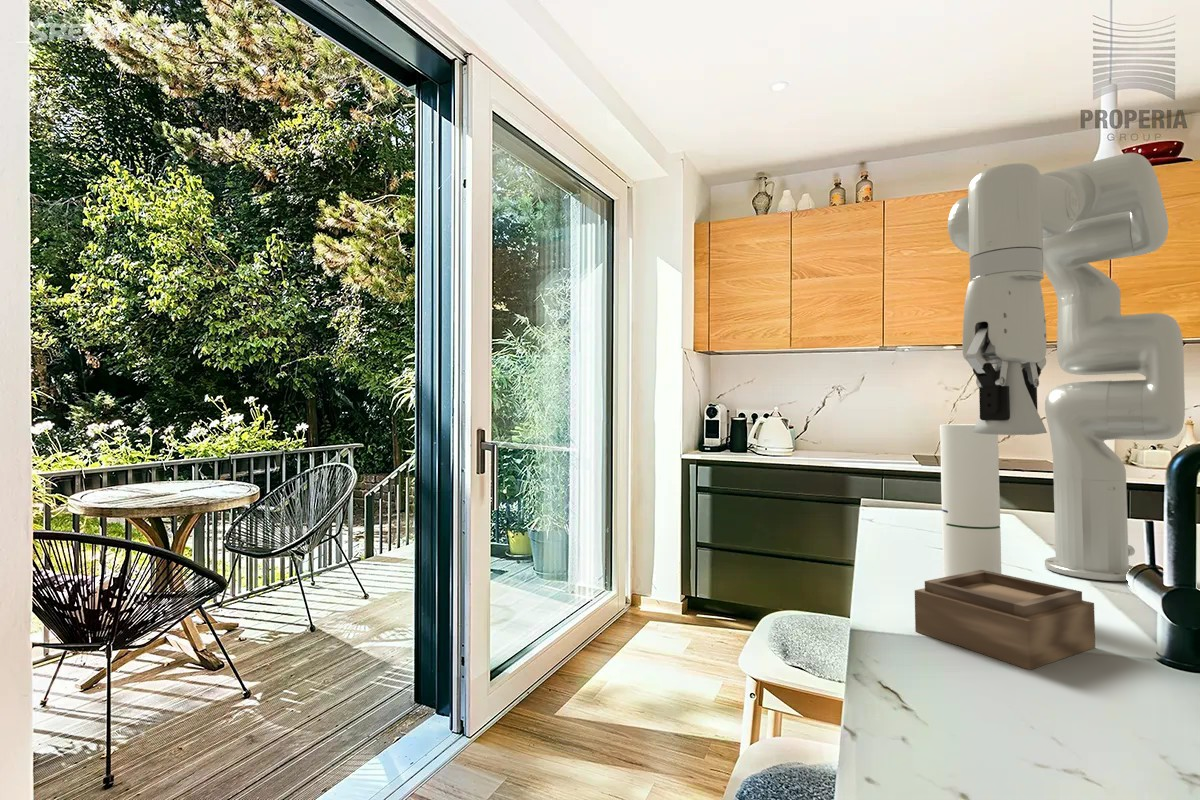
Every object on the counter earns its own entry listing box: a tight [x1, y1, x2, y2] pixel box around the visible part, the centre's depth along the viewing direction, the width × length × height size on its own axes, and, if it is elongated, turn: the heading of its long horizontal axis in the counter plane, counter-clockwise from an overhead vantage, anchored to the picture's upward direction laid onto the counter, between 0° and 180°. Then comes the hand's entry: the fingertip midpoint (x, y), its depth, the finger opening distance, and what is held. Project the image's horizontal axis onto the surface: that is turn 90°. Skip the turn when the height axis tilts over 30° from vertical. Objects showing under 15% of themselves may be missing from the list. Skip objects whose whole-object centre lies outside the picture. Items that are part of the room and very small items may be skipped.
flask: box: [973, 357, 1048, 436], centre depth 75 cm, size 7×7×10 cm
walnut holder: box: [914, 570, 1096, 671], centre depth 73 cm, size 13×13×6 cm
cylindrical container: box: [939, 423, 1002, 578], centre depth 88 cm, size 7×7×25 cm
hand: (1008, 418), depth 75 cm, fingers closed on flask, 4 cm apart
